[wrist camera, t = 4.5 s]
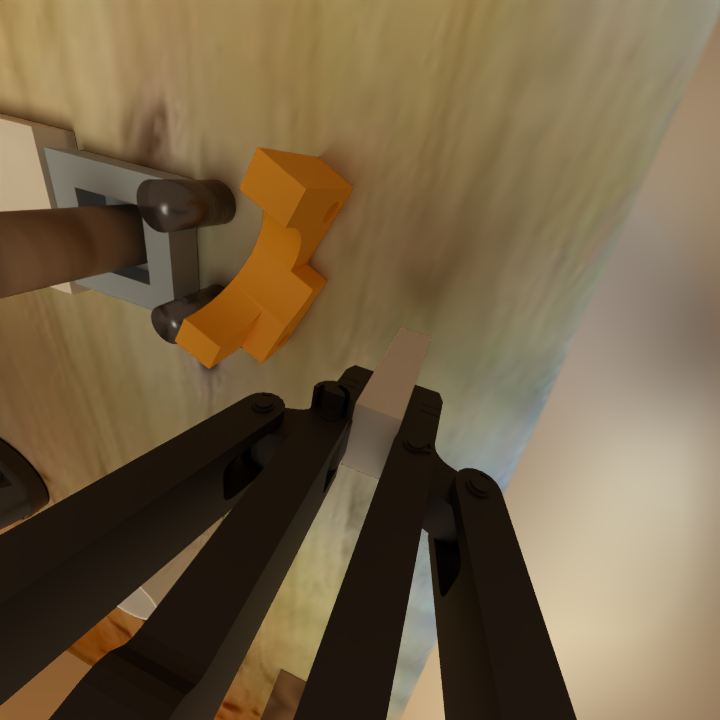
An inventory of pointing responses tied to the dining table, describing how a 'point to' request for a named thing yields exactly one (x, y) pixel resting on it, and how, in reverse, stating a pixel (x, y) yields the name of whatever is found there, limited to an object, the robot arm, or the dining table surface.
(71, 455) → the dining table surface
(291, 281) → the pipe clamp
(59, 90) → the dining table surface
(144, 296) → the jig block
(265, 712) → the tool caddy
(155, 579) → the white cup
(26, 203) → the tray
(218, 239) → the dining table surface
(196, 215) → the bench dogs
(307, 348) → the dining table surface
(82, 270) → the dowel
